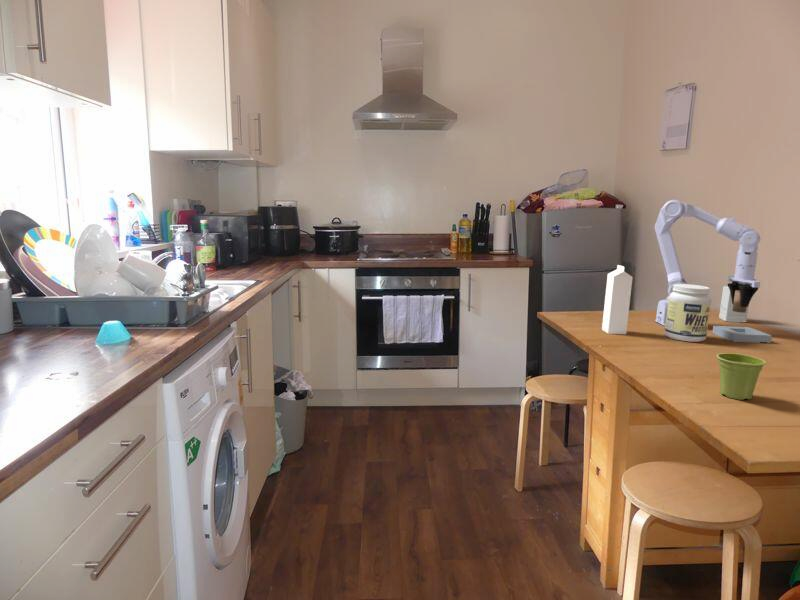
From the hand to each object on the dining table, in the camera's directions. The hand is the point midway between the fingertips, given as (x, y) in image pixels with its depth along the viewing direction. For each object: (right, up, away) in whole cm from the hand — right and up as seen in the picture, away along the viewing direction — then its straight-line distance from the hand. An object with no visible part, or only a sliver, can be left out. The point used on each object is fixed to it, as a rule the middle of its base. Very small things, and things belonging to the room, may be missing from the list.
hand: (739, 305), depth 192 cm
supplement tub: (-24, -11, -10) cm, 28 cm away
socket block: (-4, -11, -6) cm, 13 cm away
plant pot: (-40, -20, -65) cm, 79 cm away
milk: (-45, -9, -5) cm, 46 cm away
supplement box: (+11, -6, +23) cm, 27 cm away
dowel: (0, -2, 0) cm, 2 cm away
